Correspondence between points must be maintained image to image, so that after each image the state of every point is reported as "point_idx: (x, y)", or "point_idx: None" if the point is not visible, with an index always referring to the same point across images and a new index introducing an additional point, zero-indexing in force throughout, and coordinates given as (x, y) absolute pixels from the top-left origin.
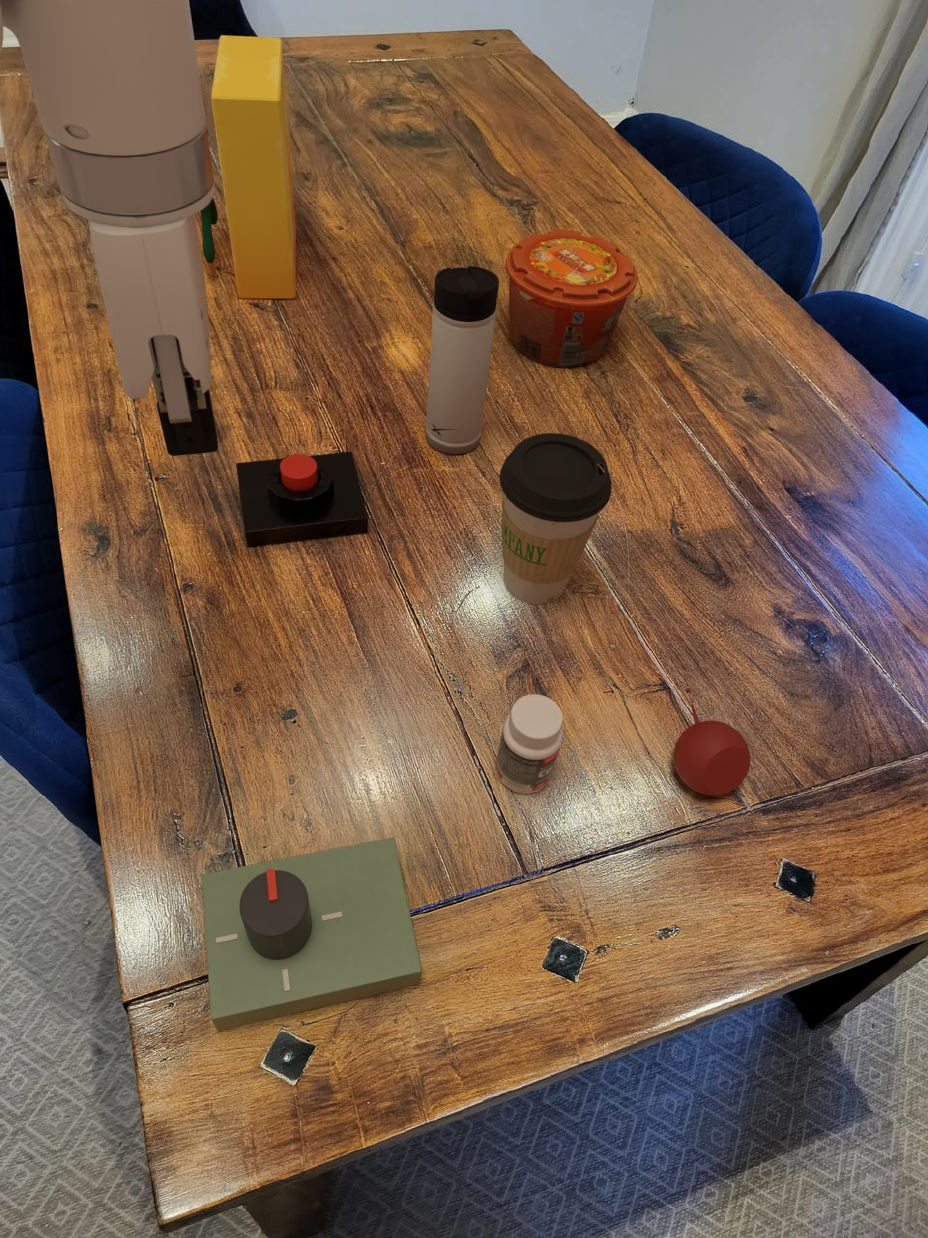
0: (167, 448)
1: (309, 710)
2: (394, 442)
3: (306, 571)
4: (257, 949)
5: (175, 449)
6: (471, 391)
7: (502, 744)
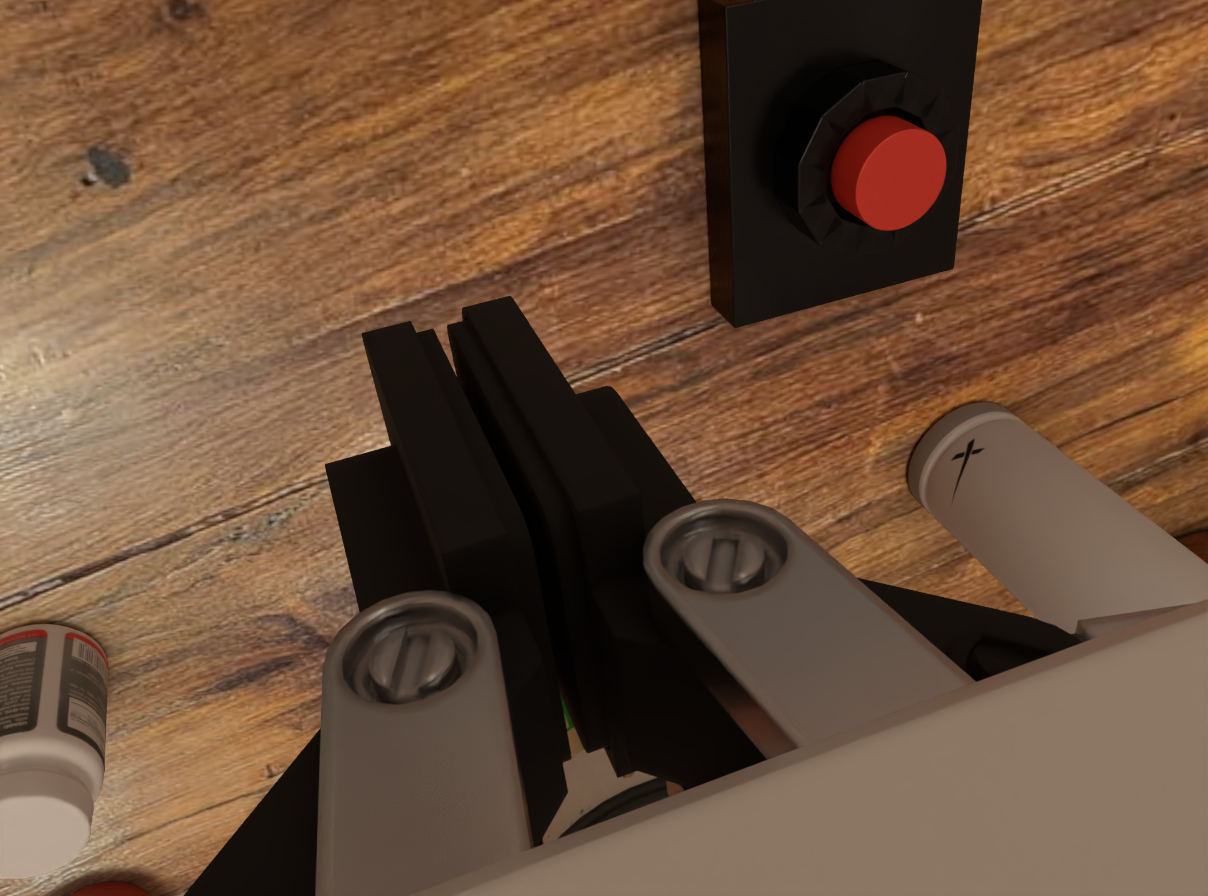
0: (370, 351)
1: (132, 217)
2: (975, 337)
3: (601, 167)
4: None
5: (377, 385)
6: (1015, 587)
7: (4, 715)
